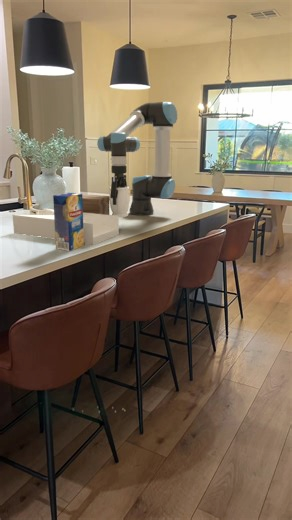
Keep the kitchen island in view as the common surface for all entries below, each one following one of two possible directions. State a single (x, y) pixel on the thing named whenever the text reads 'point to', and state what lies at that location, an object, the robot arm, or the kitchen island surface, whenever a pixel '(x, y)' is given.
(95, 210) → the walnut block
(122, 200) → the jar
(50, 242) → the kitchen island surface
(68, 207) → the blue cardboard box
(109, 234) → the white open tray
